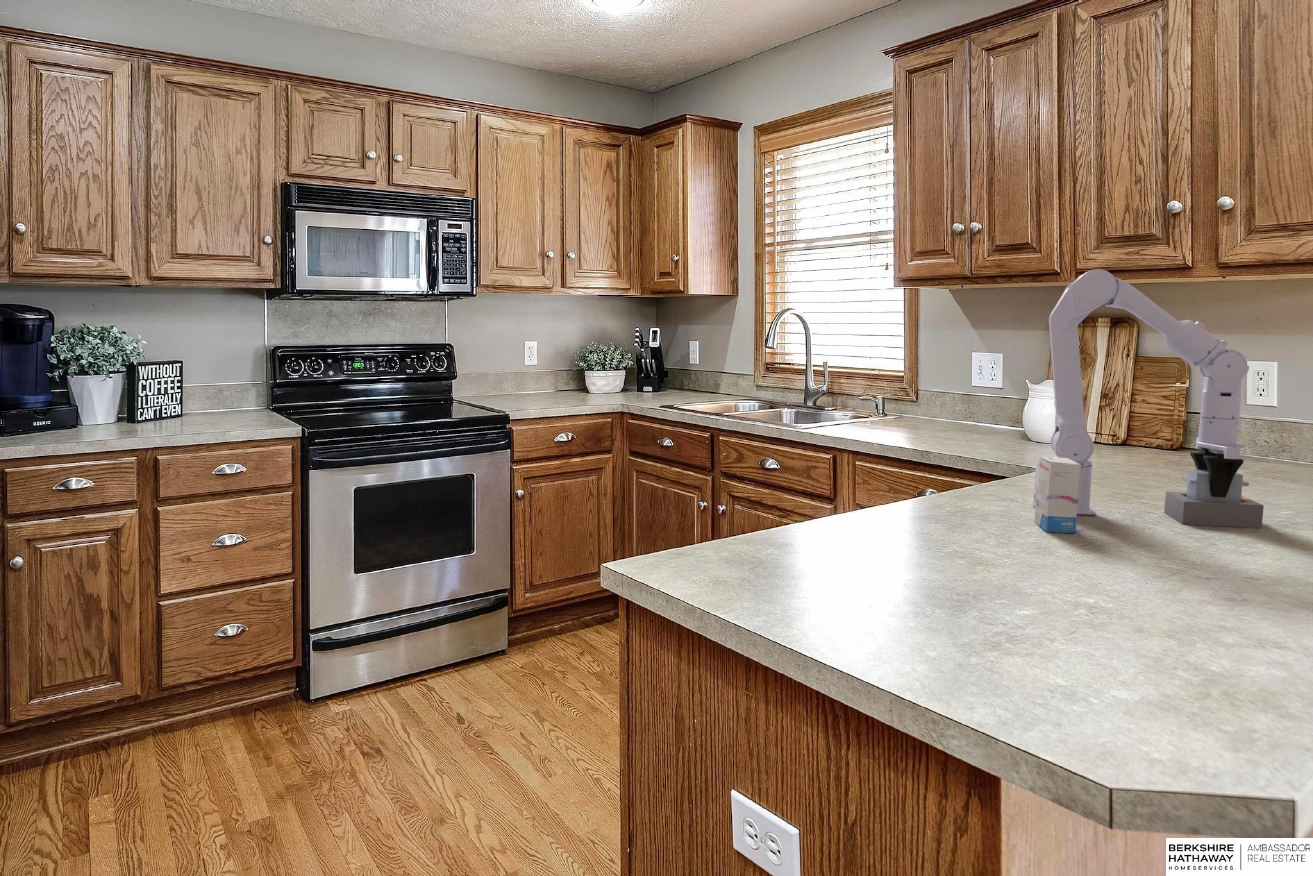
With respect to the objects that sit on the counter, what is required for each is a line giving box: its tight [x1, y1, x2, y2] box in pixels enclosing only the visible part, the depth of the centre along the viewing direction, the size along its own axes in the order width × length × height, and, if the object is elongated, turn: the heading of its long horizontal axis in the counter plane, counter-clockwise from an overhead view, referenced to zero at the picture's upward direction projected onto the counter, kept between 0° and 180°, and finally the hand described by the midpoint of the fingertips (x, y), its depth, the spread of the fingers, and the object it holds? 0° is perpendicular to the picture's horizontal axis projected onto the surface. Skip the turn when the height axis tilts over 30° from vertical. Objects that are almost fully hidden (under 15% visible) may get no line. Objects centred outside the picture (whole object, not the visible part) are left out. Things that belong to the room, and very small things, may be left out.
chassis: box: [1163, 490, 1264, 529], centre depth 150 cm, size 12×10×4 cm
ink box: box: [1033, 455, 1081, 534], centre depth 144 cm, size 8×5×12 cm, turn 168°
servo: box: [1181, 469, 1250, 502], centre depth 150 cm, size 9×4×7 cm, turn 75°
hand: (1213, 494), depth 150 cm, fingers closed on servo, 4 cm apart
